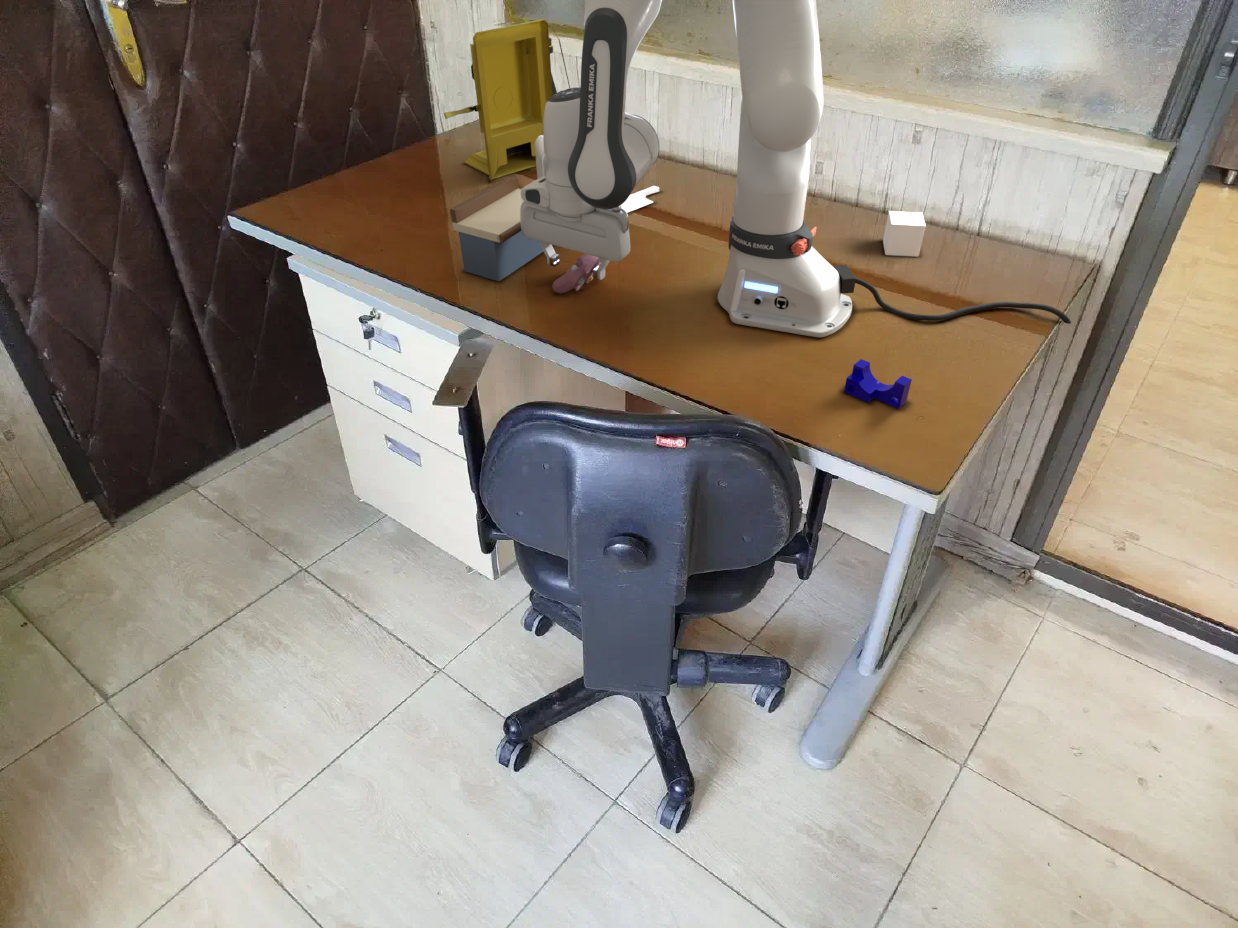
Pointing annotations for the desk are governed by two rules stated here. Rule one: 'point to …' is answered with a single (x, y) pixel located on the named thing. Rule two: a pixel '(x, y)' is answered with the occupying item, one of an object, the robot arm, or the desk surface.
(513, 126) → the yellow upright casing
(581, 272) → the video game controller
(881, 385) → the cable holder
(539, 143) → the photo printer
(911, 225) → the white cube
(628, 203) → the white plastic blade
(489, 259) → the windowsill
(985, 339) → the desk surface
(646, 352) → the desk surface
